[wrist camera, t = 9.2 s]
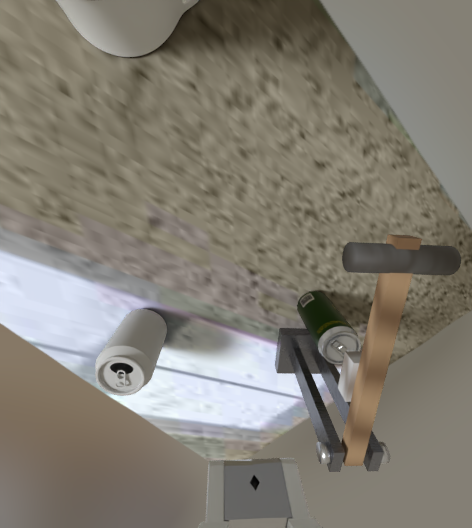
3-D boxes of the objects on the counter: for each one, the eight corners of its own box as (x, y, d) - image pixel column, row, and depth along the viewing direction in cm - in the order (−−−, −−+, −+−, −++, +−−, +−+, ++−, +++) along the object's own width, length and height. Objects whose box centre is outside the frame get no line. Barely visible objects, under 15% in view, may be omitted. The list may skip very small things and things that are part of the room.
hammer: (339, 229, 25) (361, 237, 21) (430, 232, 25) (467, 241, 21) (305, 437, 32) (316, 471, 29) (375, 436, 33) (395, 470, 29)
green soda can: (289, 306, 44) (311, 352, 33) (310, 283, 43) (341, 323, 32) (312, 322, 46) (341, 372, 34) (333, 300, 44) (371, 344, 33)
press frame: (279, 328, 46) (317, 436, 27) (335, 329, 46) (409, 435, 28) (275, 365, 49) (306, 486, 30) (327, 365, 49) (391, 485, 30)
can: (169, 308, 44) (150, 357, 32) (166, 346, 46) (148, 403, 35) (123, 303, 43) (87, 351, 32) (123, 341, 45) (89, 398, 34)
